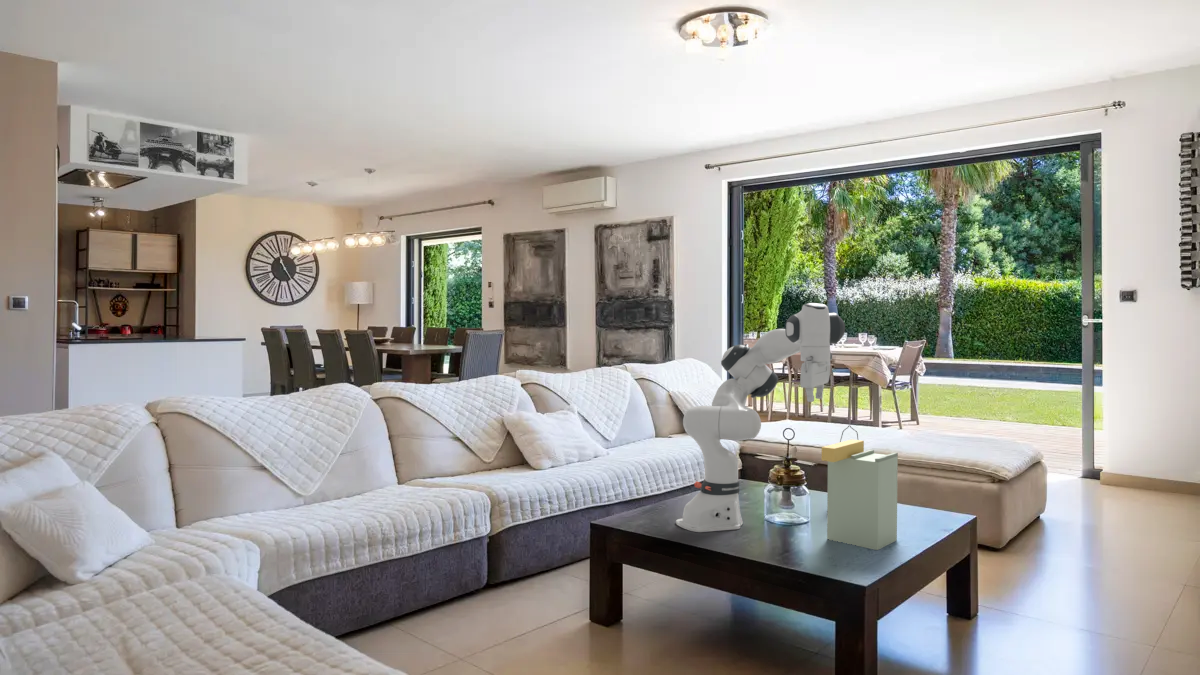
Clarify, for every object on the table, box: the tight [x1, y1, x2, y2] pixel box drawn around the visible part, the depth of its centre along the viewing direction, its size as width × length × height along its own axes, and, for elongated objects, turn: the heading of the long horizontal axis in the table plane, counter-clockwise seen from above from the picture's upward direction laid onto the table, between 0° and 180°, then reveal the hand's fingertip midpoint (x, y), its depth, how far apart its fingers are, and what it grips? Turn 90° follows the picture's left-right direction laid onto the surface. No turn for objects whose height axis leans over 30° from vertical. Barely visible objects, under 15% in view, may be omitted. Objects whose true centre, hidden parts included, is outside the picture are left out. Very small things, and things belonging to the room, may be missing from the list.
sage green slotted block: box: [826, 449, 899, 551], centre depth 239 cm, size 14×16×27 cm
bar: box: [821, 439, 865, 462], centre depth 237 cm, size 20×4×4 cm, turn 137°
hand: (814, 400), depth 240 cm, fingers open, 8 cm apart
